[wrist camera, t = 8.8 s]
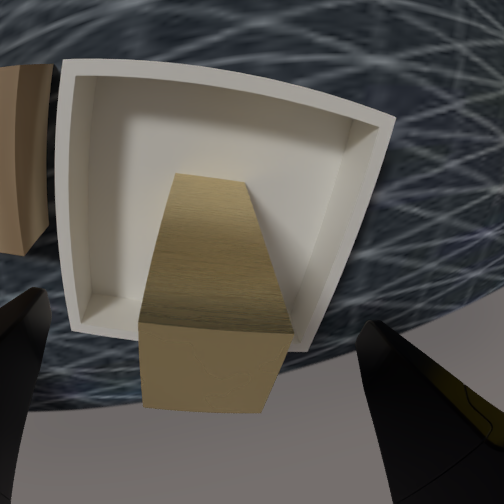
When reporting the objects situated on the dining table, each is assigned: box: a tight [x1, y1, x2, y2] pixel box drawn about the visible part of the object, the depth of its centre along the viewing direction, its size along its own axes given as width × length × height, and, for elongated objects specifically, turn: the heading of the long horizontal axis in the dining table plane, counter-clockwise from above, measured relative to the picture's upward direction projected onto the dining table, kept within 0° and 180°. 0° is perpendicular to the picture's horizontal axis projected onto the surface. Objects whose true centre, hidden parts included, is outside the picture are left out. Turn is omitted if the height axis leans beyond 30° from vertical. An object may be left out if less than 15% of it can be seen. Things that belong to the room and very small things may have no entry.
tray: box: [55, 59, 396, 352], centre depth 14 cm, size 12×12×3 cm
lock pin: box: [138, 173, 294, 413], centre depth 10 cm, size 3×3×9 cm
